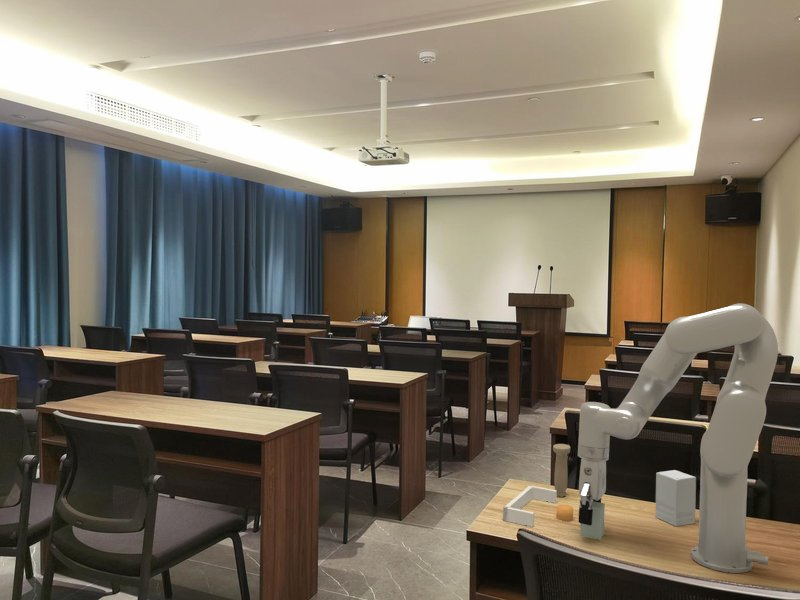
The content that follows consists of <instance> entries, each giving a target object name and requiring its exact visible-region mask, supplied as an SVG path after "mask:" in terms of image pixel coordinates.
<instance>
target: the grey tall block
mask: <svg viewBox="0 0 800 600" xmlns="http://www.w3.org/2000/svg"><path fill="white" fill-rule="evenodd" d="M587 501H588V502H590V501H589V500H587ZM605 505H606V504H605V503H604V502H601V503H600V502H594V501H593V503H592V508H591V509H593V514H592V525H591V526H589V525H585V524H581V523H579V524H580V528H579V529H580V530H579V533H580V534H579V535H580V536H581V537H586V538H589V539H594V538H595V539H594V540H598V539H599V541H602V540H601V539H602V538H603V537H602V536H604V534H605V510H606V509H605V507H606V506H605Z"/></svg>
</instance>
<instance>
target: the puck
mask: <svg viewBox="0 0 800 600" xmlns="http://www.w3.org/2000/svg"><path fill="white" fill-rule="evenodd" d="M555 516H556V517H557V518H556V519H557V520H559V521H561V520H562V521H561V522H572V521H573V520H574V507H573V506H570V505H568V504H557V505H556V515H555Z"/></svg>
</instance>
